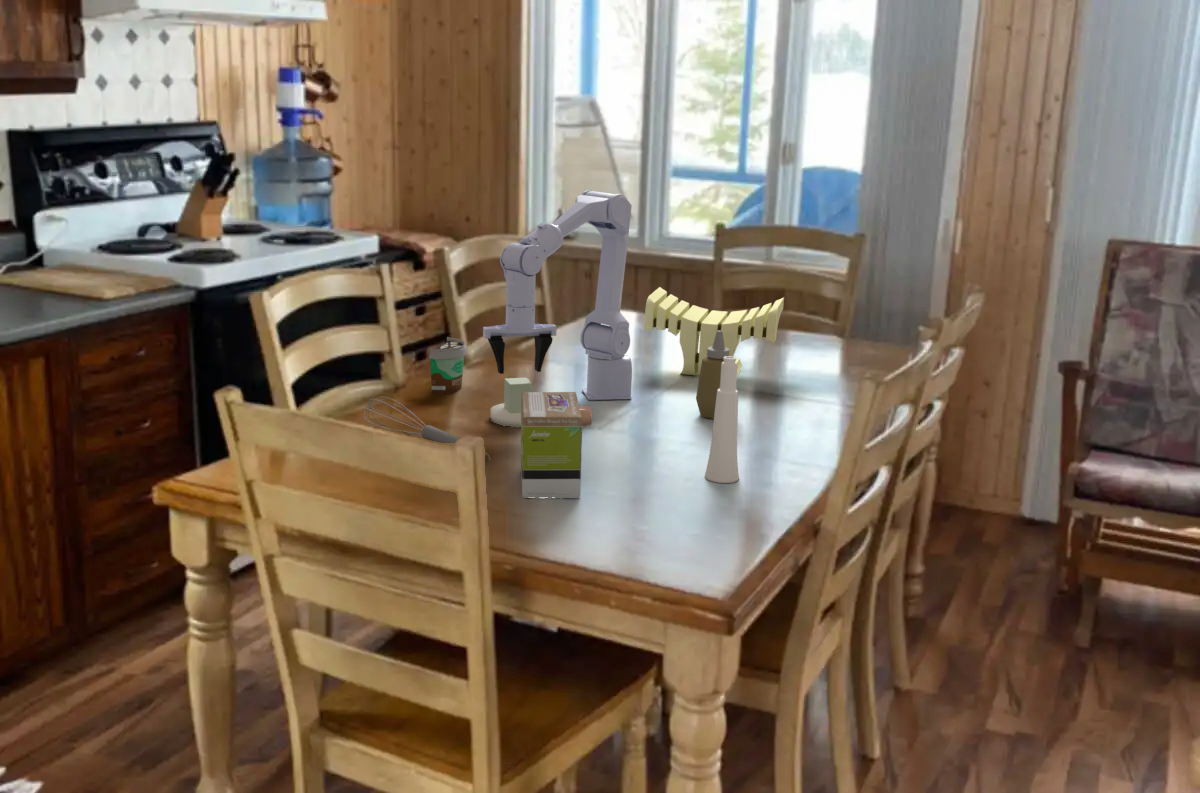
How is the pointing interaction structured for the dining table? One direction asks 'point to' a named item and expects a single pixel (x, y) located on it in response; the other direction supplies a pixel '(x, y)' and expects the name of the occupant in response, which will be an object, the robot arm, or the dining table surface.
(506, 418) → the stand
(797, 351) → the dining table surface
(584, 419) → the tan rounded knob
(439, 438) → the kitchen whisk
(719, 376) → the squeeze bottle
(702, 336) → the slatted curved stool
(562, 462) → the tea box
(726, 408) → the cosmetic bottle
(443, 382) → the food container
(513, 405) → the sage block
